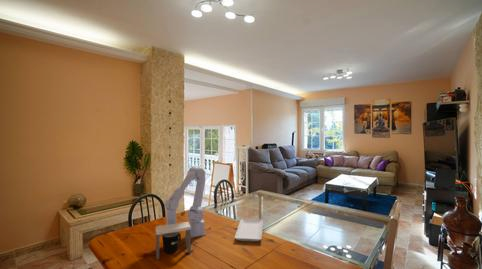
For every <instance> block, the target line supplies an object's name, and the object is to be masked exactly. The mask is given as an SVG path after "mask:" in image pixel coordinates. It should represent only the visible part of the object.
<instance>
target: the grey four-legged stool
mask: <svg viewBox="0 0 482 269" xmlns="http://www.w3.org/2000/svg"><path fill="white" fill-rule="evenodd" d="M184 231H185V248H186V250H187V253H188V254H190V253H192V252H191V248H192V247H191V245H192V244H191V241H192V240H191V239H192V238H191V227H190V221H183V222H176V224H169V225H166V224H163V225H156V226H155V259H156V260H160V235H162V234H166V233H172V232H184Z"/></svg>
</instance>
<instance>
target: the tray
mask: <svg viewBox="0 0 482 269" xmlns="http://www.w3.org/2000/svg"><path fill="white" fill-rule="evenodd" d="M263 228H264V219H261V218H260V219H258V218H257V219H256V218H241V219H240V220H239V223H238V226H237V230H236V232H235V235H234V239H235V240H237V241H241V242H259V241H261V240H262V238H263Z"/></svg>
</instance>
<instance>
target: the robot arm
mask: <svg viewBox="0 0 482 269" xmlns="http://www.w3.org/2000/svg"><path fill="white" fill-rule="evenodd" d="M192 181H196V184H195V191H194V197H193V202H192V205H191V206H190V208H189V210H188V212H187V218H188V219H189V224H190V227H191V239H192V238H197V237H202V236H205V235H206V234H205V232H206V231H205V230H206V224H205V220H204V219H203V218H204V210H203V207H202V202H203V197H204V191H205V184H206V171H205V169H204V168H203V167H196V166H191V167H190V168H189V170H187V173H186V176H185V178H184V179H183V181H182V183H181V184H180V186H179V187H177V188H176V189H174V190H173V191H174V192H173V193H172V194H171V196H169V198H168V199H167V200H166V201H165V203H164V208H165V209H166V211H165V212H166V220H165V221H166V223H165V225H169V224H176V223H177V208H179V203H180V201H181V199H182V198H183V196H184V195H185V189H187V187H188V186H189V184H191V182H192Z"/></svg>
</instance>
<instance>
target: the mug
mask: <svg viewBox="0 0 482 269" xmlns="http://www.w3.org/2000/svg"><path fill="white" fill-rule="evenodd" d="M161 236H162V247H163V252H164V253H165V254H166V255H171V254H174V253H176V252H177V250H178V248H179V243H180V242H181V239H182V235H181V233H180V231H178V232H172V233H166V234H161Z"/></svg>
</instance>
